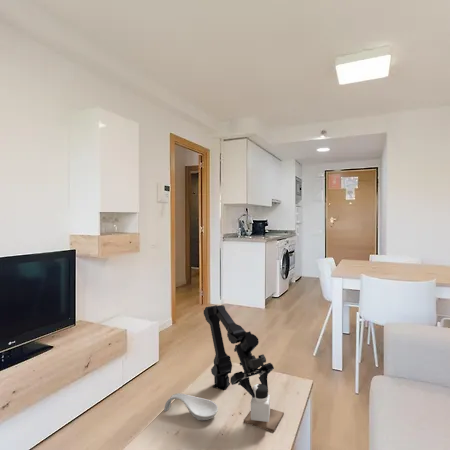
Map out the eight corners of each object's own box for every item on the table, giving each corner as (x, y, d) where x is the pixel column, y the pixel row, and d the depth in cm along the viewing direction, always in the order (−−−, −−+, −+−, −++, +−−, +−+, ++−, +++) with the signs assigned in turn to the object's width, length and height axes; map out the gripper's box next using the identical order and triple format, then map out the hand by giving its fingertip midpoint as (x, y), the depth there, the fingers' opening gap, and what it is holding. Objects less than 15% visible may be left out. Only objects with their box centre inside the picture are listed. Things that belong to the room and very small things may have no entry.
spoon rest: (221, 410, 138) (221, 394, 138) (212, 427, 127) (212, 410, 126) (172, 401, 145) (171, 386, 144) (159, 417, 134) (159, 401, 133)
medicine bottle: (270, 411, 130) (269, 382, 130) (268, 422, 123) (268, 392, 123) (252, 409, 132) (252, 380, 131) (250, 420, 125) (250, 390, 124)
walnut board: (243, 422, 129) (243, 419, 129) (255, 406, 140) (255, 404, 140) (274, 432, 123) (274, 429, 123) (283, 414, 133) (283, 412, 133)
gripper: (233, 354, 126) (249, 395, 117) (271, 344, 135) (288, 381, 126) (224, 365, 134) (238, 404, 124) (260, 355, 143) (276, 391, 133)
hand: (260, 395), depth 127 cm, fingers closed on medicine bottle, 6 cm apart
